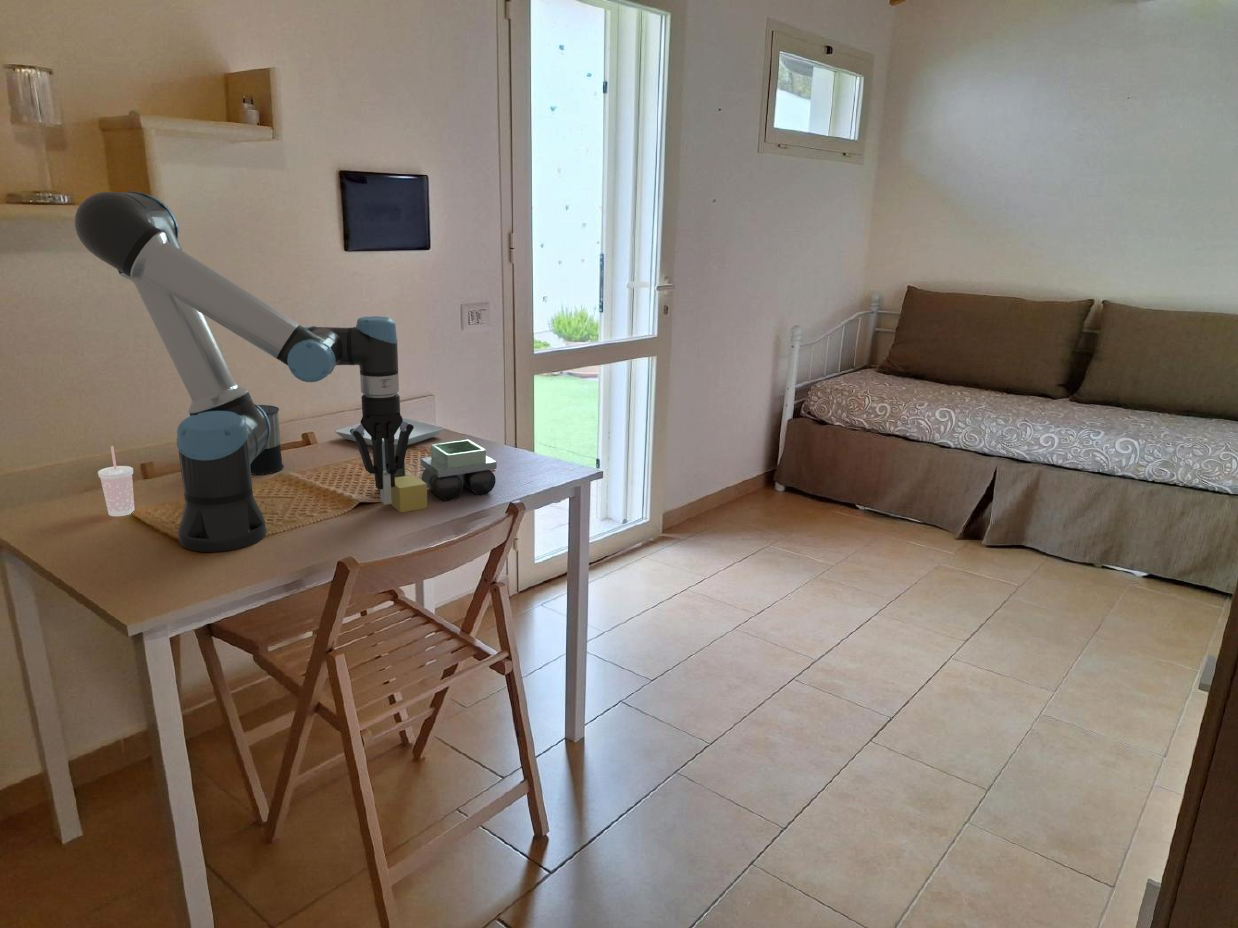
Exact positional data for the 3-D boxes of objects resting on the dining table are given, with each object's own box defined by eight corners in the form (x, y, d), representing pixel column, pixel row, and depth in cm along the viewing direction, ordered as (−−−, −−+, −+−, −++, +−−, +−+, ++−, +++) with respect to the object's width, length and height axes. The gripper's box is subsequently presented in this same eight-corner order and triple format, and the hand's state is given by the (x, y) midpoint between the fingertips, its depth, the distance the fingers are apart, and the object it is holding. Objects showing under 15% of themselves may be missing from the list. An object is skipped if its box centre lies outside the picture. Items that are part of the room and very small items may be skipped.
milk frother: (292, 468, 199) (287, 408, 195) (236, 485, 186) (229, 421, 181) (252, 457, 206) (247, 399, 201) (195, 473, 192) (187, 412, 188)
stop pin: (388, 492, 186) (386, 445, 183) (382, 487, 189) (380, 441, 186) (405, 489, 188) (403, 443, 185) (399, 484, 191) (397, 438, 188)
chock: (400, 512, 174) (399, 488, 173) (388, 502, 180) (387, 478, 178) (427, 507, 178) (426, 483, 176) (414, 498, 183) (414, 474, 181)
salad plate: (390, 456, 213) (390, 443, 212) (333, 441, 223) (332, 429, 222) (446, 438, 230) (446, 426, 229) (391, 425, 240) (390, 414, 239)
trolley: (438, 503, 181) (437, 457, 177) (421, 489, 188) (420, 445, 185) (496, 493, 188) (496, 449, 185) (477, 480, 196) (477, 438, 193)
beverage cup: (101, 510, 168) (91, 444, 164) (135, 504, 172) (126, 440, 168) (107, 519, 164) (97, 452, 160) (142, 513, 168) (132, 447, 163)
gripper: (354, 400, 162) (361, 513, 169) (417, 394, 169) (422, 502, 176) (342, 393, 168) (350, 502, 175) (404, 387, 175) (409, 492, 182)
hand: (386, 502), depth 175 cm, fingers closed
